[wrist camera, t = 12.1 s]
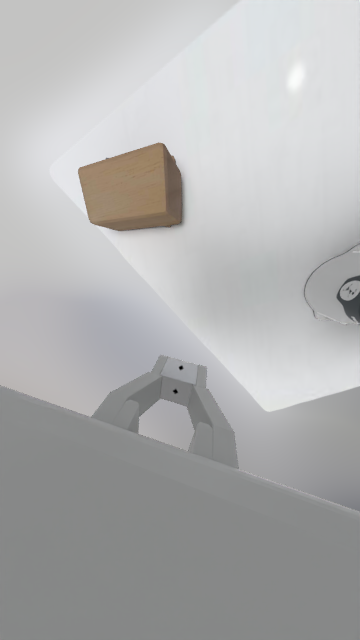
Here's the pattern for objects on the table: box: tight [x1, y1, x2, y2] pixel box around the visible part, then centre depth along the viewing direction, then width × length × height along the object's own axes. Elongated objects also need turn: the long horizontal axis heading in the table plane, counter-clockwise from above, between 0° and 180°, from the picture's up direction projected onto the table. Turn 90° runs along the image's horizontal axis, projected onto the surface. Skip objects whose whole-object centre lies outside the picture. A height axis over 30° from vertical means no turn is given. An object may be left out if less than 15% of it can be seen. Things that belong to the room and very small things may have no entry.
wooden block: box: [78, 143, 182, 231], centre depth 32 cm, size 10×10×20 cm
